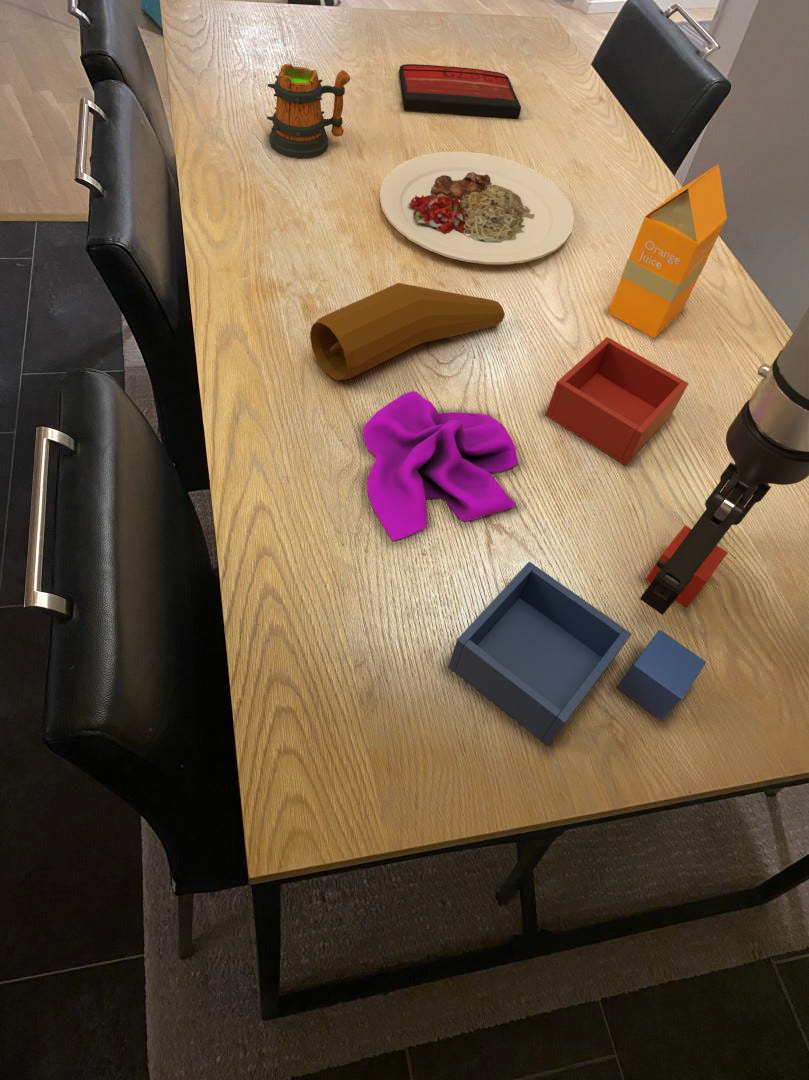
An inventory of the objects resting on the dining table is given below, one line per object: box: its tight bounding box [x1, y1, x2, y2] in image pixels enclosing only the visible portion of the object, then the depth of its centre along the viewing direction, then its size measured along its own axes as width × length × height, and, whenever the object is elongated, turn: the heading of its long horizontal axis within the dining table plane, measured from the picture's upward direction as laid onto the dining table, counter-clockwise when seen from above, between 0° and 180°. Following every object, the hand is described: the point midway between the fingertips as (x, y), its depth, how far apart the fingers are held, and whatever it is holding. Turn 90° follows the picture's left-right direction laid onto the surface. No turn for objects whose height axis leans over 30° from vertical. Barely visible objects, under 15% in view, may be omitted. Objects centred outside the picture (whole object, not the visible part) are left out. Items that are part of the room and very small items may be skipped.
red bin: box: [544, 336, 689, 466], centre depth 92 cm, size 12×12×6 cm
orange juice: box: [607, 163, 728, 339], centre depth 99 cm, size 8×9×20 cm
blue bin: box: [447, 561, 633, 747], centre depth 71 cm, size 12×12×6 cm
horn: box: [309, 282, 506, 381], centre depth 96 cm, size 8×10×25 cm
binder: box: [398, 63, 522, 119], centre depth 139 cm, size 16×2×21 cm
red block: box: [644, 524, 729, 608], centre depth 79 cm, size 5×5×5 cm
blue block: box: [616, 629, 707, 721], centre depth 71 cm, size 5×5×5 cm
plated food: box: [379, 150, 575, 265], centre depth 116 cm, size 30×30×3 cm
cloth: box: [362, 390, 519, 542], centre depth 84 cm, size 22×19×6 cm
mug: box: [266, 63, 351, 160], centre depth 120 cm, size 13×10×12 cm
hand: (683, 563), depth 79 cm, fingers open, 13 cm apart
